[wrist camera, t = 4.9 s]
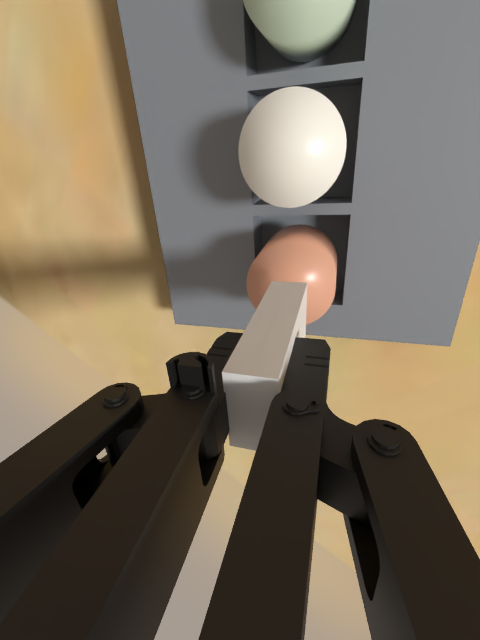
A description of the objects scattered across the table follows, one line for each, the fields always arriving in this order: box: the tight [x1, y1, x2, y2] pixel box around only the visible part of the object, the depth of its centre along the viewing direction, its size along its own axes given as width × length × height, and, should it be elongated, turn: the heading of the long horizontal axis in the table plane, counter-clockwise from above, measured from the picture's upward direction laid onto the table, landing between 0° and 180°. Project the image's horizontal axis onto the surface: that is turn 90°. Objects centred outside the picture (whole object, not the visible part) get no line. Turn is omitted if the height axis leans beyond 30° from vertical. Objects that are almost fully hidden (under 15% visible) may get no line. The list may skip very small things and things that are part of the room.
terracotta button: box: [246, 224, 337, 325], centre depth 18 cm, size 4×4×4 cm
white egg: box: [238, 86, 347, 208], centre depth 15 cm, size 4×4×4 cm
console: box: [117, 0, 480, 346], centre depth 18 cm, size 18×22×3 cm
